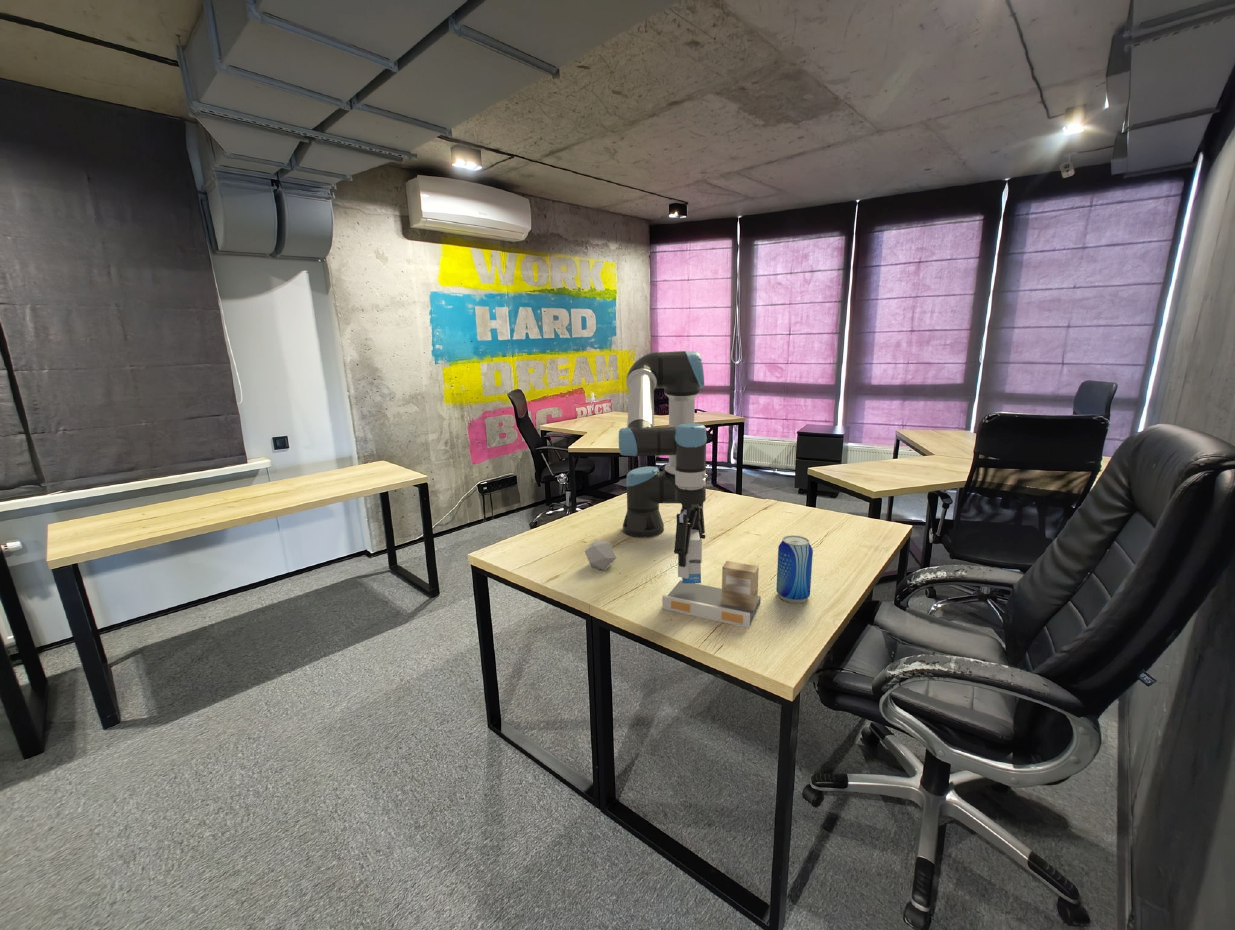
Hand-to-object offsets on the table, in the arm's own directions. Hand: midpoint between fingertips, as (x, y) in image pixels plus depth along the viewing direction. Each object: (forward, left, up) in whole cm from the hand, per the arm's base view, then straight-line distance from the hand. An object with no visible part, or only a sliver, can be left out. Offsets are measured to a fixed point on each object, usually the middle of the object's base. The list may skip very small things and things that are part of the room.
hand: (690, 569), depth 128 cm
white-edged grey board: (+6, 0, -9) cm, 11 cm away
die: (-32, +9, -9) cm, 35 cm away
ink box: (0, 0, -2) cm, 2 cm away
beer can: (+24, +13, -9) cm, 29 cm away
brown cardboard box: (+13, 0, -7) cm, 15 cm away
